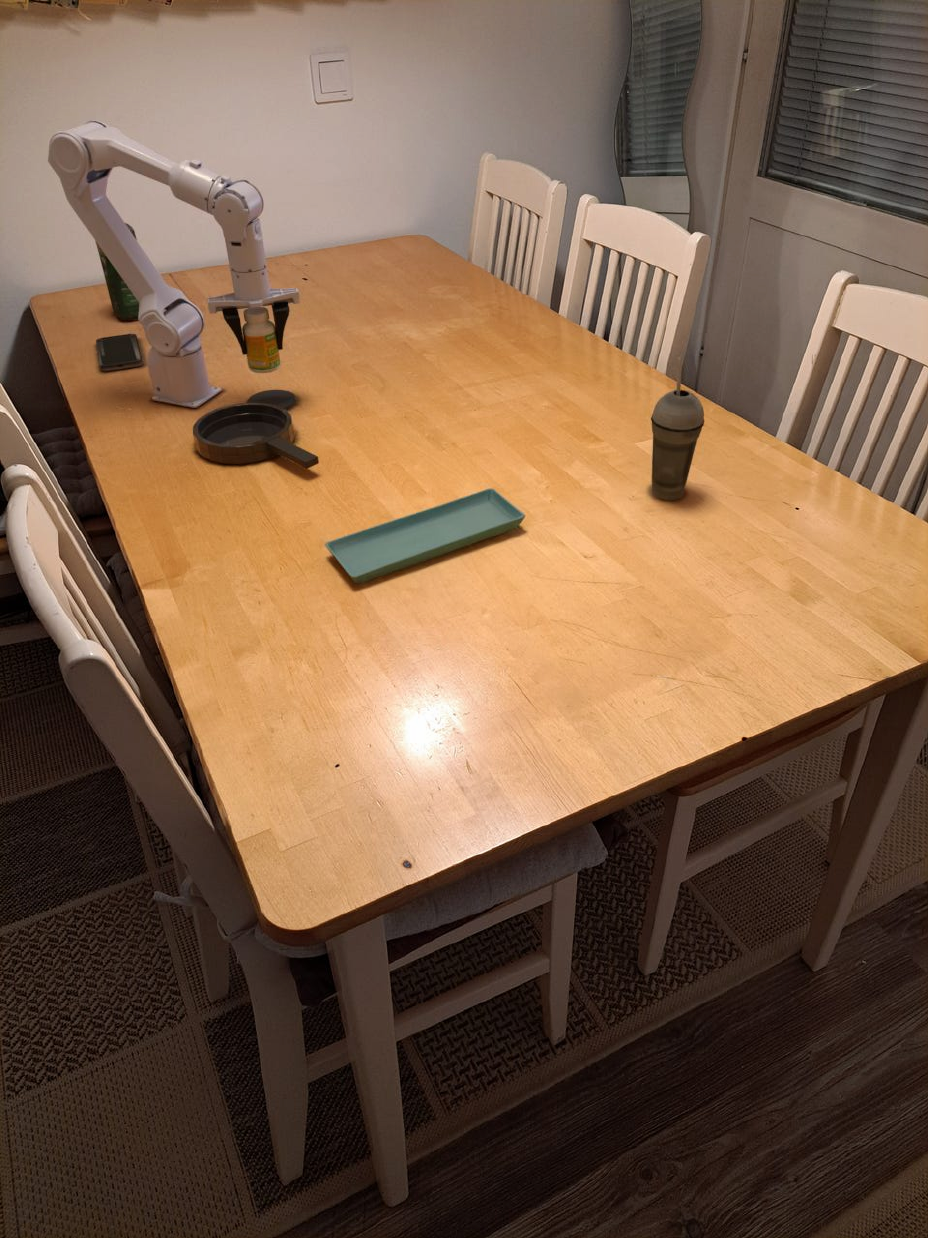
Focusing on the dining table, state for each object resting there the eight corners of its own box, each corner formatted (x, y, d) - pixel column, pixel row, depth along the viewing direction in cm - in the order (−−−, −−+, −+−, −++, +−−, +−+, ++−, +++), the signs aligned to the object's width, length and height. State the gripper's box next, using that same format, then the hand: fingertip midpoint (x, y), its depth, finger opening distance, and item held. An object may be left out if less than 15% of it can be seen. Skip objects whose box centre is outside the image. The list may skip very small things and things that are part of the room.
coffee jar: (158, 317, 192) (136, 225, 181) (120, 324, 189) (96, 231, 178) (147, 303, 199) (126, 213, 187) (110, 310, 196) (86, 219, 185)
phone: (135, 332, 182) (142, 359, 171) (137, 338, 183) (143, 365, 172) (95, 338, 180) (99, 366, 169) (96, 344, 181) (100, 372, 170)
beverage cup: (662, 510, 128) (681, 376, 116) (632, 487, 133) (646, 356, 121) (703, 497, 131) (725, 364, 118) (671, 475, 136) (690, 346, 123)
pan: (176, 454, 144) (172, 436, 142) (233, 414, 155) (230, 396, 153) (260, 472, 139) (256, 453, 137) (312, 429, 150) (309, 411, 148)
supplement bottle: (274, 375, 151) (265, 317, 145) (243, 372, 152) (233, 315, 146) (285, 362, 155) (277, 305, 149) (256, 360, 156) (246, 303, 150)
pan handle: (266, 448, 141) (264, 441, 140) (278, 442, 142) (277, 435, 142) (306, 469, 136) (305, 462, 135) (319, 463, 137) (318, 456, 136)
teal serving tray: (353, 590, 115) (351, 575, 113) (325, 555, 121) (322, 540, 119) (526, 531, 125) (527, 515, 123) (492, 501, 131) (492, 486, 129)
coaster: (238, 408, 157) (237, 405, 156) (264, 389, 163) (264, 386, 162) (279, 416, 154) (279, 413, 154) (305, 396, 160) (304, 393, 160)
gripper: (203, 279, 139) (220, 364, 147) (297, 269, 142) (308, 353, 150) (200, 265, 144) (216, 348, 152) (291, 256, 147) (302, 337, 156)
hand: (261, 349), depth 152 cm, fingers closed on supplement bottle, 5 cm apart
